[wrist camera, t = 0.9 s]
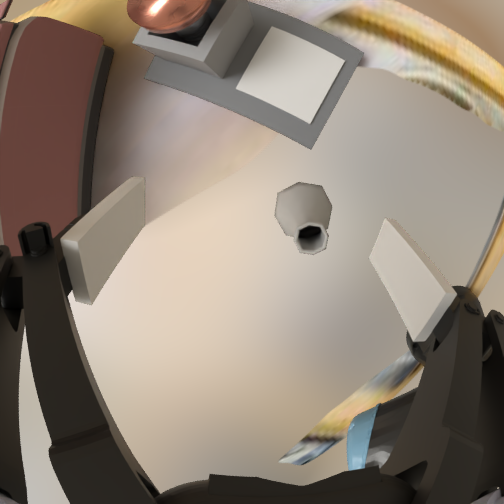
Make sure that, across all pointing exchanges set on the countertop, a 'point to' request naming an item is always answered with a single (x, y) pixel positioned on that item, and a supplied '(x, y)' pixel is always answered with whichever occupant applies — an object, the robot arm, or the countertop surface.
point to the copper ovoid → (172, 16)
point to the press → (257, 67)
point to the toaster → (47, 122)
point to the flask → (304, 216)
